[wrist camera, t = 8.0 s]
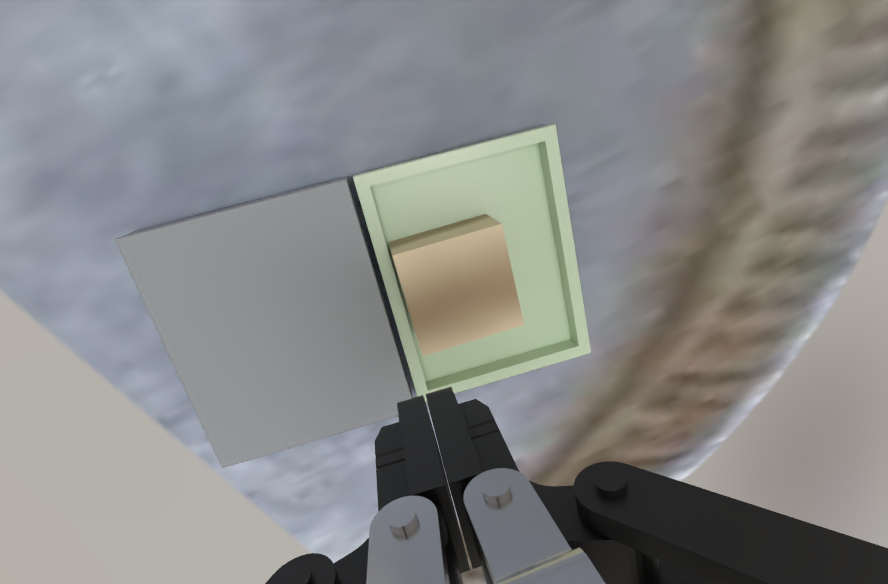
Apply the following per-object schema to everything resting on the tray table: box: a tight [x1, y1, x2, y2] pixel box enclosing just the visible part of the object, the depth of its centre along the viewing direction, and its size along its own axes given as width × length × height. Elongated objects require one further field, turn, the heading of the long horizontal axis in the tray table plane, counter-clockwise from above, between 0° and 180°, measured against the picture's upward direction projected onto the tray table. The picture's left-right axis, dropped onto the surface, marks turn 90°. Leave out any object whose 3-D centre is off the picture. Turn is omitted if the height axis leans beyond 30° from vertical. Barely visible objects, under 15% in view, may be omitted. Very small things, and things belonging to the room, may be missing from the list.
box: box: [353, 125, 591, 402], centre depth 25 cm, size 12×10×2 cm
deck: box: [115, 177, 413, 468], centre depth 24 cm, size 12×10×2 cm
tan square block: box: [389, 214, 524, 356], centre depth 24 cm, size 5×5×3 cm
